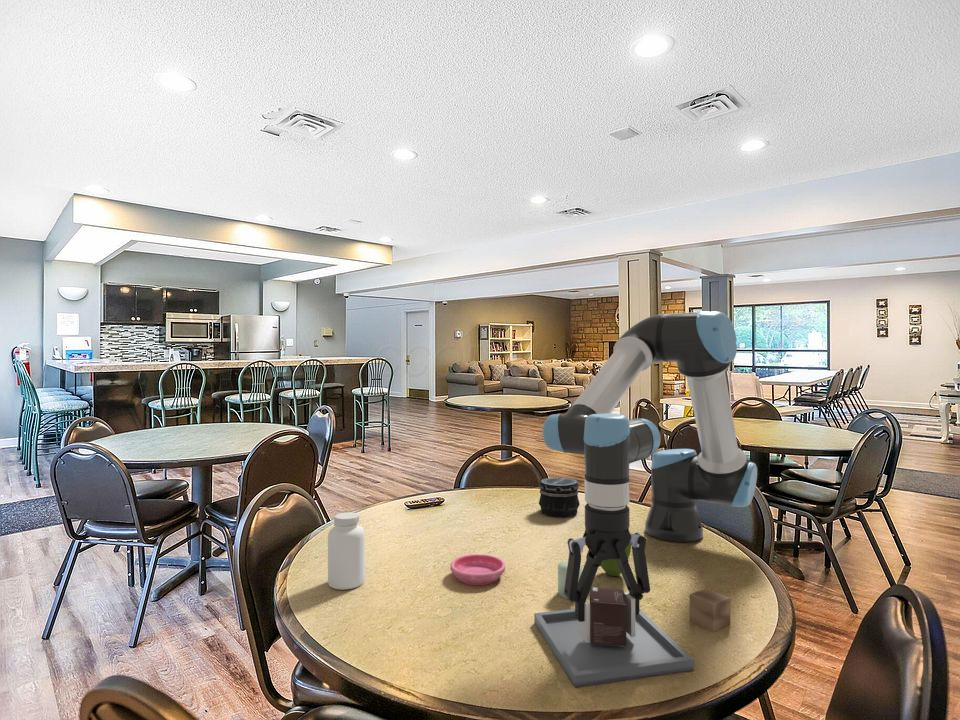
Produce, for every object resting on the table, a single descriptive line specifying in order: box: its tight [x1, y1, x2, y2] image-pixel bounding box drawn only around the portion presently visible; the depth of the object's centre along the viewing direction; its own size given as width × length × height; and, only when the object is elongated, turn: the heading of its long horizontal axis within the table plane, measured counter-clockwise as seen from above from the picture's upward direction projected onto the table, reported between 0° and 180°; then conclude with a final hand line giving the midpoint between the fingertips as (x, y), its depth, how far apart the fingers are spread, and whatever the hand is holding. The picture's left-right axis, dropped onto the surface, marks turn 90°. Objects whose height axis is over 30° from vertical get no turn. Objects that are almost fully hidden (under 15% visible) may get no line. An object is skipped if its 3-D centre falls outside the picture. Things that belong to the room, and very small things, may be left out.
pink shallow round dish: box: [449, 553, 506, 586], centre depth 122 cm, size 12×12×3 cm
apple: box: [600, 542, 632, 577], centre depth 122 cm, size 9×8×12 cm
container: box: [538, 477, 581, 518], centre depth 170 cm, size 13×13×10 cm
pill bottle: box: [327, 511, 366, 590], centre depth 119 cm, size 8×8×15 cm
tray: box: [533, 608, 695, 688], centre depth 93 cm, size 20×20×2 cm
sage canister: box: [557, 560, 583, 600], centre depth 113 cm, size 5×5×6 cm
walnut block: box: [689, 587, 731, 633], centre depth 101 cm, size 5×5×5 cm
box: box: [589, 587, 626, 647], centre depth 93 cm, size 6×6×7 cm
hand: (607, 635), depth 93 cm, fingers closed on box, 8 cm apart
